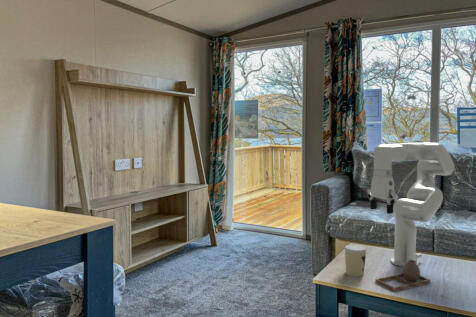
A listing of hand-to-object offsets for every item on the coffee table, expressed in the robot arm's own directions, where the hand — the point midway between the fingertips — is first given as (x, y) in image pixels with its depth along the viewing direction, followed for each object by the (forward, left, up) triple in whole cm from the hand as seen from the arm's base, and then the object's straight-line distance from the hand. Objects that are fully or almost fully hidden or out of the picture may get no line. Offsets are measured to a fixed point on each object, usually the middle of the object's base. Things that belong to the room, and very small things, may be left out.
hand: (381, 211), depth 173 cm
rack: (0, +12, -28) cm, 31 cm away
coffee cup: (+11, -4, -28) cm, 31 cm away
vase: (-5, +13, -29) cm, 32 cm away
